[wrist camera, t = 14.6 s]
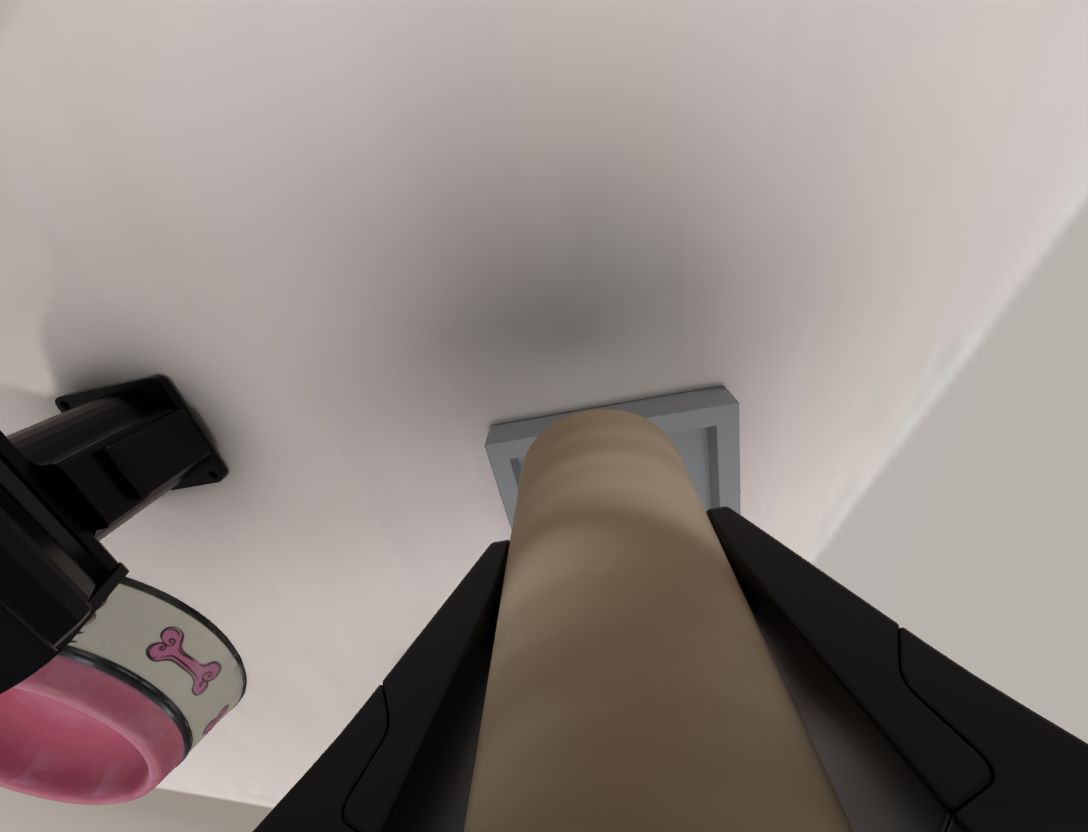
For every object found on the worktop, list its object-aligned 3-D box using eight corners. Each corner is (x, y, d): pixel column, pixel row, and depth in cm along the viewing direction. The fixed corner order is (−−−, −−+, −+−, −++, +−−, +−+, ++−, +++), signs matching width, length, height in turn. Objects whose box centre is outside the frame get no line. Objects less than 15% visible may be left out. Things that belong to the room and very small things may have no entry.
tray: (539, 585, 28) (537, 611, 26) (491, 426, 22) (484, 445, 21) (729, 562, 26) (741, 589, 24) (723, 385, 21) (738, 402, 19)
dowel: (541, 551, 12) (507, 1095, 5) (502, 426, 10) (347, 984, 3) (689, 529, 11) (913, 1110, 4) (673, 393, 9) (1017, 984, 2)
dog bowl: (220, 580, 29) (129, 680, 23) (266, 729, 37) (208, 831, 31) (-51, 547, 29) (-218, 640, 23) (56, 704, 37) (-44, 803, 31)
